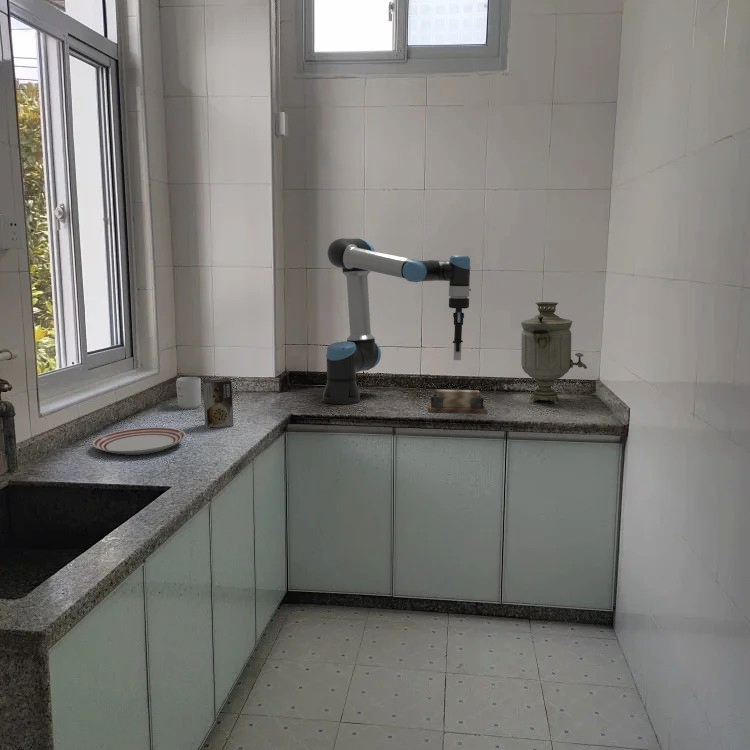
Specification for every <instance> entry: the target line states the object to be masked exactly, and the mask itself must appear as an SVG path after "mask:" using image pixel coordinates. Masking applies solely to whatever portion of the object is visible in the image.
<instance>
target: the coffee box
mask: <svg viewBox="0 0 750 750" xmlns="http://www.w3.org/2000/svg"><path fill="white" fill-rule="evenodd" d="M202 383H203V384H202V385H203V386H202V388H203V391H202V392H203V405H204V406H203V409H204V425H205V427H206V426H207V427H206V428H207V429H210V428H209V427H217V428H224V427H234V410H233V409H234V408H233V403H234V402H233V386H232V380H231V379H230V378H229V377H222V378H221V377H220V378H219V377H218V378H205V379H203V380H202Z"/></svg>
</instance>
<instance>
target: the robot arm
mask: <svg viewBox="0 0 750 750" xmlns="http://www.w3.org/2000/svg"><path fill="white" fill-rule="evenodd" d="M327 258H328V260H329V262H330V263H331V265H333V266H334V267H336V268H341V269H342V274H343V275H344V276H345V277H346V287H347V288H346V289H347V290H346V291H347V303H348V319H349V336H348V337H347V338H346V341H336V342H333V343H330V344H329V345H328V346H327V348H326V385H325V387H324V390H323V394H322V402H324V403H326V404H330V405H350V404H356V403H359V402H360V401H361V394H360V390H359V388H358V385H357V373H358V372H362V371H365V372H366V371H369V370H371V369H373V368H376V366H377V365H378V364H379V363H380V360H381V358H382V356H381V355H382V352H381V348H380V346H379V345H378V343H376V341H375V340H376V339H375V336H374V335H373V334H372V333H371V318H370V317H371V315H370V314H371V313H370V300H369V299H370V298H369V280H368V275H369V274H370V273H371V272H373V273H377V274H382V275H387V276H392V277H397V278H400V279H405V280H406V281H408V282H410V283H411V282H412V283H420V282H432V281H433V282H434V281H441V282H443V281H447V282H449V283H448V284H449V285H448V296H449V298H448V307H449V309H455V312H453V314H452V317H453V325H454V332H453V333H454V337H453V341H452V344H453V360H454V361H462V343H464V340H462V338H463V337H462V332H463V325H464V318H465V313H464V312H463V309H468V308H469V307H470V298H469V297H470V292H471V291H472V289H471V288H470V279H471V269H472V267H471V258H470V257H469V256H468V255H450V257H449V260H438V259H437V260H436V259H428V260H419V259H418V260H417V259H413V258H409V257H403V256H398V255H394V254H390V253H389V254H388V253H384V252H378V251H376V250H375V248H374V246H373V245H372V244H371V243H370V241H368V240H366V239H364V238H363V239H362V238H357V237H356V238H338V239H335V240H333V241H332V242H331V243H330V244H329V247H328V248H327Z"/></svg>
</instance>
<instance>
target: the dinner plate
mask: <svg viewBox="0 0 750 750" xmlns="http://www.w3.org/2000/svg"><path fill="white" fill-rule="evenodd" d="M186 436H187V434H186V433H185V431H184V430H181V429H178V428H173V427H167V426H166V427H164V426H163V427H162V426H161V427H160V426H154V427H150V426H149V427H137V428H128V429H124V430H118V431H114V432H113V431H112V432H110V433H107V434H104V435H101V436H99V437H97V438H95V439H94V440H93V441H92V444H91V445H92V446H93V448H95V449H97V450H100V451H103V452H106V453H111V454H115V453H116V454H115V455H120V454H125V455H124V456H140V454H143V455H149V453H150V454H155V452H156V453H159V452H162V451H165V450H168V449H169V448H171V447H173V446H176V445H178V444H179V443H180V442H182V441H183V440H185V438H186Z"/></svg>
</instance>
